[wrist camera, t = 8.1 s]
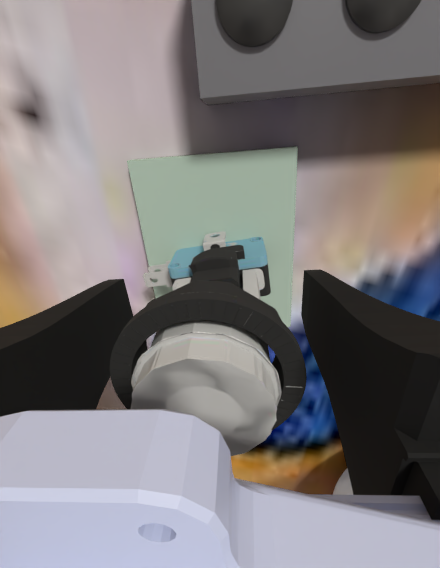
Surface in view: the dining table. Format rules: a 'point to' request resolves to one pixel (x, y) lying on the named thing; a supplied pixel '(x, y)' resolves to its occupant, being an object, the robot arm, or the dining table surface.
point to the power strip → (313, 47)
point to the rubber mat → (221, 208)
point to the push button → (212, 344)
